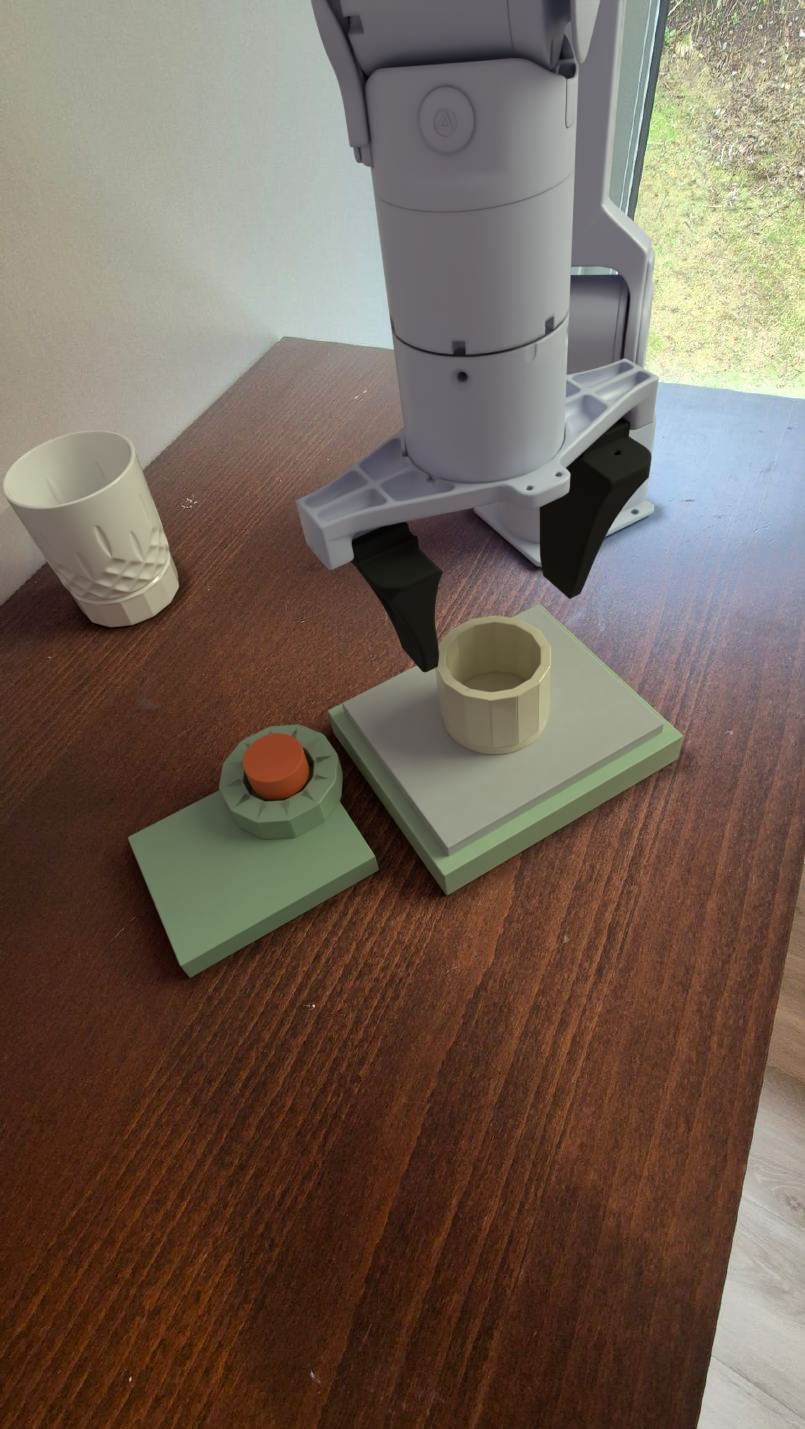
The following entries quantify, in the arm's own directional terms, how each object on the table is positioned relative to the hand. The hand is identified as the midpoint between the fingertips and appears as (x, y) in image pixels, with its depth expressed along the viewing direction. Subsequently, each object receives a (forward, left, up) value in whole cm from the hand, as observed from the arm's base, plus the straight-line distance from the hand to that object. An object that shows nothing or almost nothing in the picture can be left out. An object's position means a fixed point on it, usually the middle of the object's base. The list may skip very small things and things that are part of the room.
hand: (492, 619), depth 37 cm
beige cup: (0, 0, -6) cm, 7 cm away
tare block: (+14, -1, -9) cm, 17 cm away
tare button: (+11, -3, -7) cm, 13 cm away
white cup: (+13, -25, -10) cm, 30 cm away
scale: (0, 0, -9) cm, 9 cm away
